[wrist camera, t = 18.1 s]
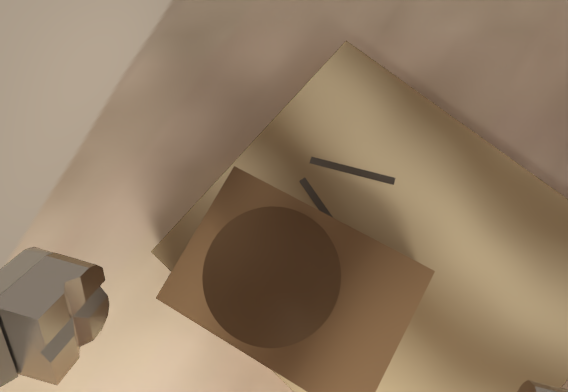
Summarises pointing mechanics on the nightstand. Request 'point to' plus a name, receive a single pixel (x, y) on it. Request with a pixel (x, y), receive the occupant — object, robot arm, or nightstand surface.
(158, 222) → the nightstand surface
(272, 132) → the board
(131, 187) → the nightstand surface
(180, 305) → the wooden stamp
